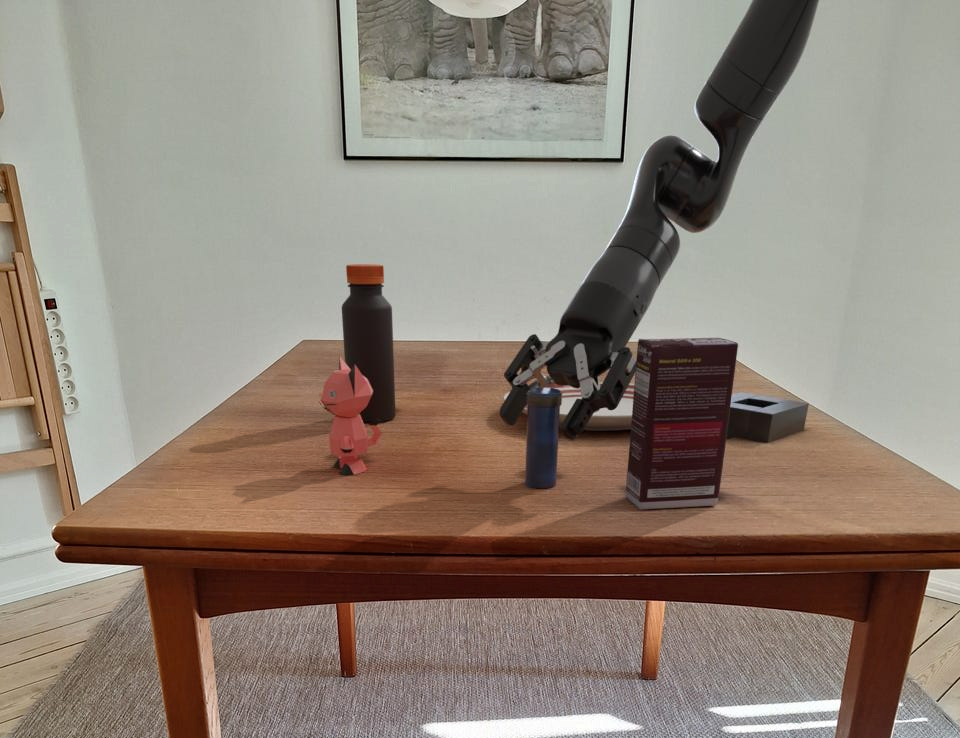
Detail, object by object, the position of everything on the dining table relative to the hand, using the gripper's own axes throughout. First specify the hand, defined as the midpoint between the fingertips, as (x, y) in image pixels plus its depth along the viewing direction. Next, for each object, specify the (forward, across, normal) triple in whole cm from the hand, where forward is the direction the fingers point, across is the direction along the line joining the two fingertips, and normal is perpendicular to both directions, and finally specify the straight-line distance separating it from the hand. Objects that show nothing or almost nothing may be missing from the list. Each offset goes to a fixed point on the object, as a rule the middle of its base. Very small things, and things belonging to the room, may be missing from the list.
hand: (535, 428), depth 88 cm
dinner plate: (-18, -16, +27) cm, 36 cm away
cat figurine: (+12, -19, -2) cm, 22 cm away
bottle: (-1, -38, +10) cm, 39 cm away
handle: (+4, 0, +5) cm, 6 cm away
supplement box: (0, +13, +9) cm, 16 cm away
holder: (-23, +5, +32) cm, 39 cm away
